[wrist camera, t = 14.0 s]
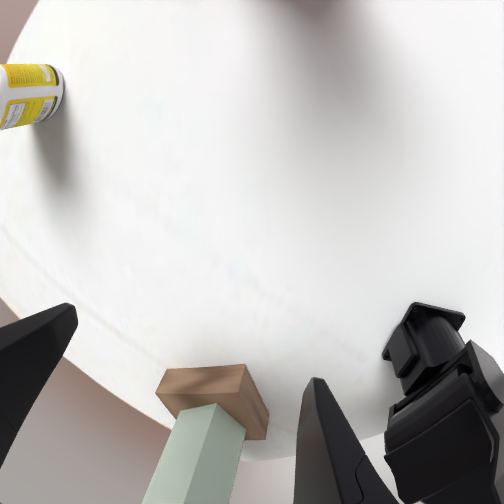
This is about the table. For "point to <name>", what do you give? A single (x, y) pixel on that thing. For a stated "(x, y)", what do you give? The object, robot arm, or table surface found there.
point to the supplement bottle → (28, 93)
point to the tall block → (198, 459)
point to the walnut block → (216, 394)
